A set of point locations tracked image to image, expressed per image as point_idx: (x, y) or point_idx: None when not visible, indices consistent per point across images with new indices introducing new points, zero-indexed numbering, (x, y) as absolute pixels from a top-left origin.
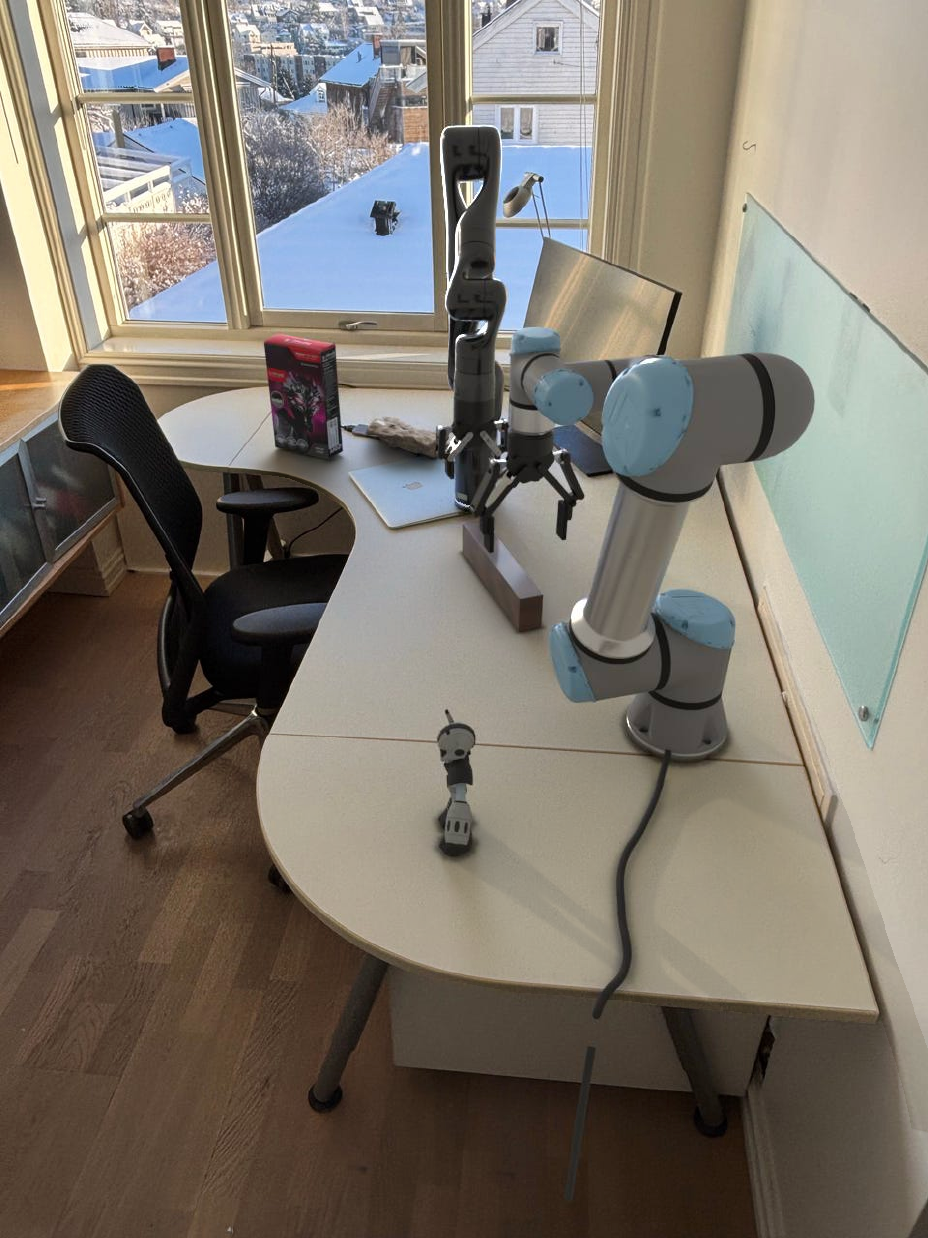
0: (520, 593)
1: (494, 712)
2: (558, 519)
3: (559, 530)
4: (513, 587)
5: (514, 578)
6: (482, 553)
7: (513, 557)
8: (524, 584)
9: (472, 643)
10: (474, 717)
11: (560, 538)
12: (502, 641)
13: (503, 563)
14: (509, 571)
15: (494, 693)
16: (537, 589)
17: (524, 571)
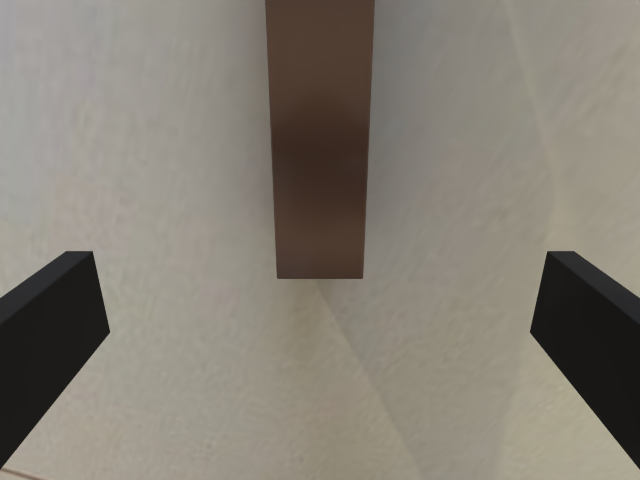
0: (290, 249)
1: (149, 447)
2: (611, 334)
3: (561, 315)
4: (281, 205)
5: (308, 149)
6: None
7: None
8: (328, 199)
9: (154, 239)
10: (108, 448)
11: (534, 311)
12: (232, 254)
13: (309, 9)
14: (309, 88)
15: (162, 405)
16: (358, 244)
17: (367, 110)
